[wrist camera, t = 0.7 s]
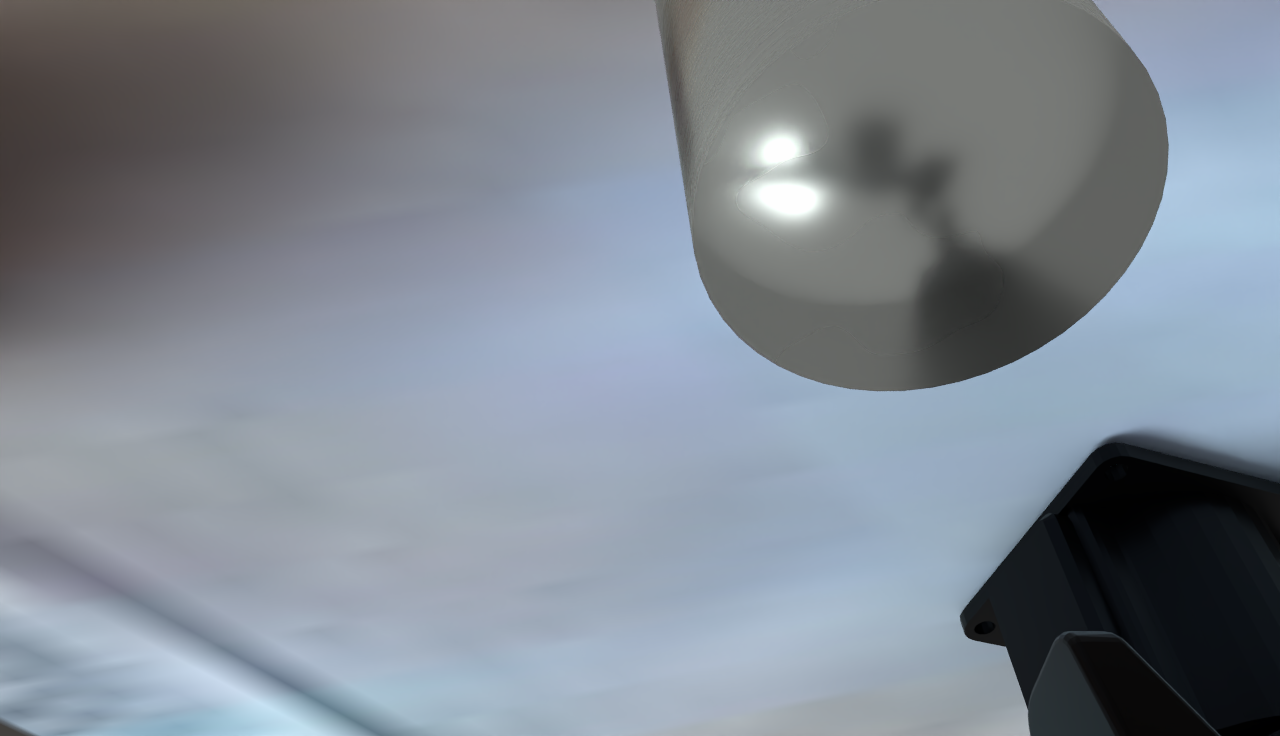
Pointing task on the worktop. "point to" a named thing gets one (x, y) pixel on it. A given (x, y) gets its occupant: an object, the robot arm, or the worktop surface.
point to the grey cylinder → (909, 176)
